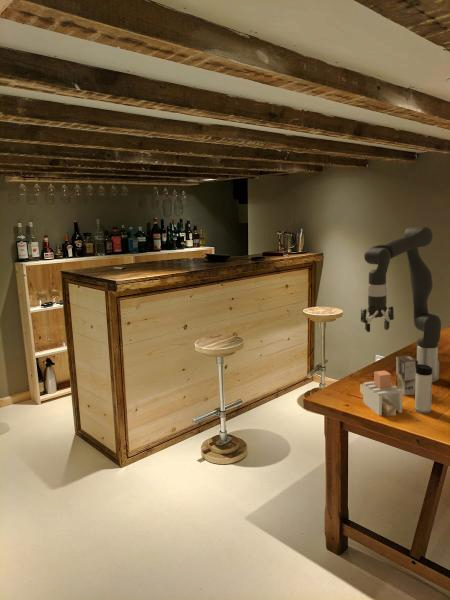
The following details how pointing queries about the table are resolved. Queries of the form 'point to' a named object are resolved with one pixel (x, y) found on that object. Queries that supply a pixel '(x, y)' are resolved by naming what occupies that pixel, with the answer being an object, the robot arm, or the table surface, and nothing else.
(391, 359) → the table surface
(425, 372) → the travel mug
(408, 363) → the coffee box
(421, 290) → the robot arm
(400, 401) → the tunnel
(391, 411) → the rod
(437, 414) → the table surface
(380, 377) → the block
